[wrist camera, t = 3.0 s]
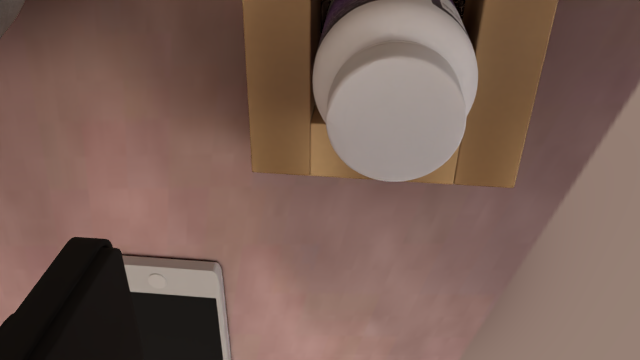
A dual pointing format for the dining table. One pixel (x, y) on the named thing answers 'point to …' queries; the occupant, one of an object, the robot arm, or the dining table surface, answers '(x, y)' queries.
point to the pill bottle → (394, 84)
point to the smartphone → (179, 308)
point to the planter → (9, 13)
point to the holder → (310, 129)
